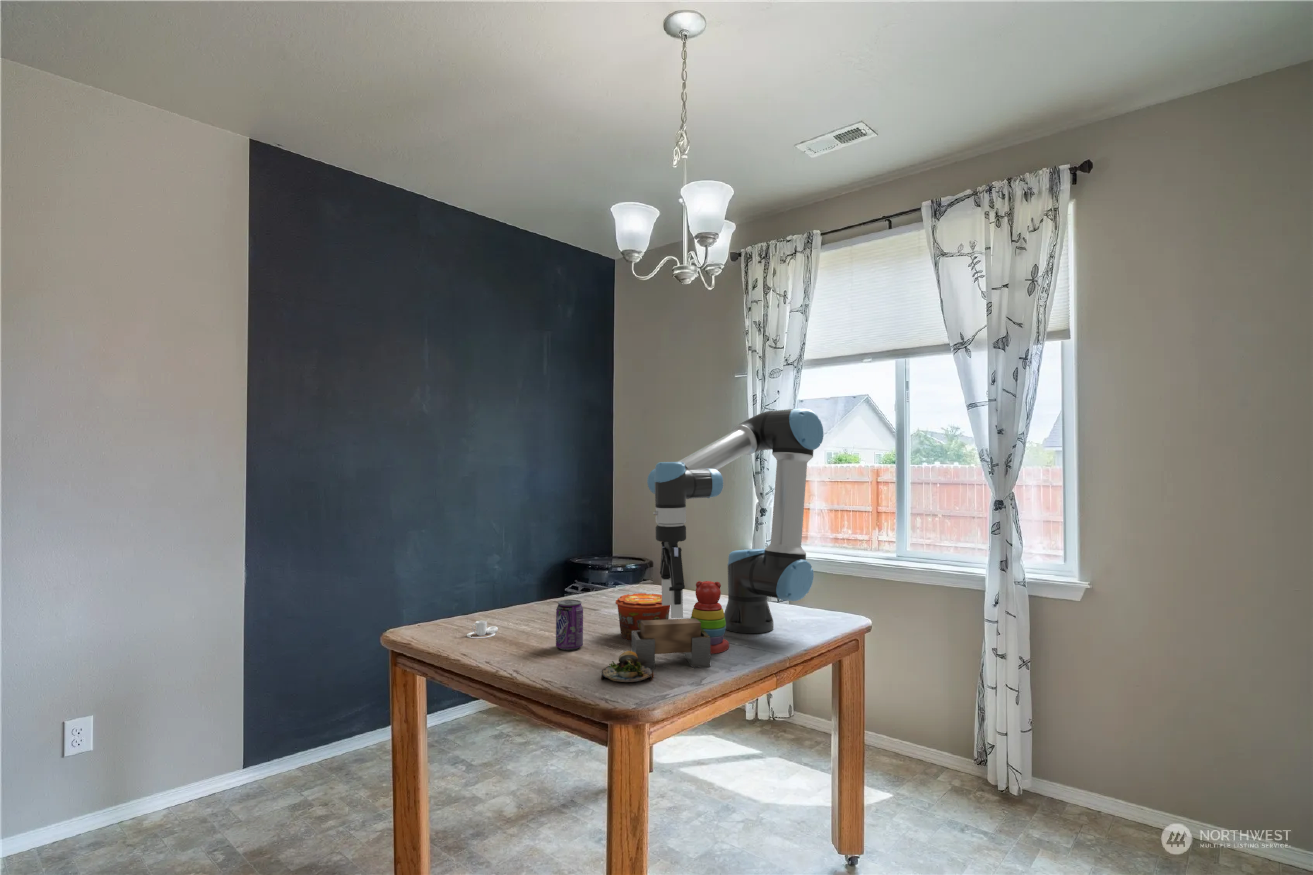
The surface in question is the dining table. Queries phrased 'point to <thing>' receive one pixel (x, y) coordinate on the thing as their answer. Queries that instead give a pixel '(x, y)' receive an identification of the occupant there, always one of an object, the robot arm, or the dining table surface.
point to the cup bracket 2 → (699, 651)
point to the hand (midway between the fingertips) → (671, 611)
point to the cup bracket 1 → (644, 649)
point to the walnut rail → (671, 634)
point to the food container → (639, 611)
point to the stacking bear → (711, 614)
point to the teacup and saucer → (482, 629)
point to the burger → (627, 669)
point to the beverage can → (569, 624)
